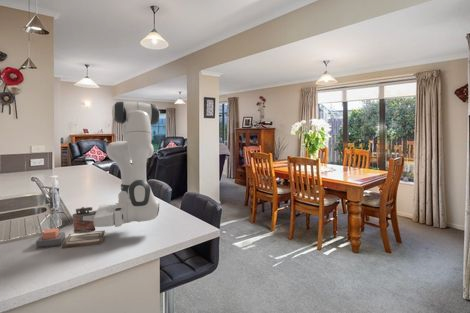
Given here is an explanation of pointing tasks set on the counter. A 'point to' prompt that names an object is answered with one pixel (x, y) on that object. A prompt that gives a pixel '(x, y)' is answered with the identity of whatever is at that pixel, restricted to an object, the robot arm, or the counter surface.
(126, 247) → the counter surface
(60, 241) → the button housing
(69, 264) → the counter surface
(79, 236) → the board
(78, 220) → the lighter
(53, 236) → the button
